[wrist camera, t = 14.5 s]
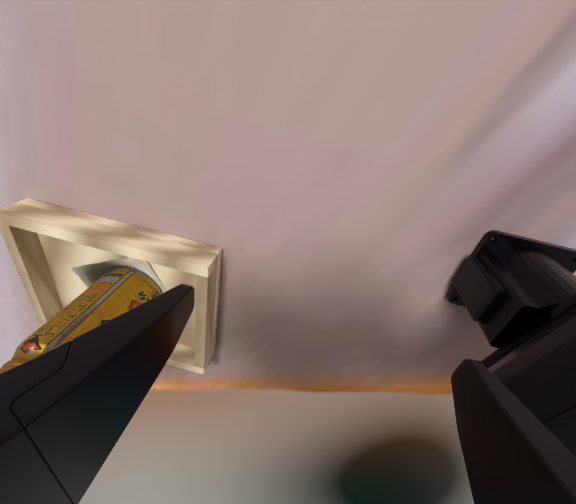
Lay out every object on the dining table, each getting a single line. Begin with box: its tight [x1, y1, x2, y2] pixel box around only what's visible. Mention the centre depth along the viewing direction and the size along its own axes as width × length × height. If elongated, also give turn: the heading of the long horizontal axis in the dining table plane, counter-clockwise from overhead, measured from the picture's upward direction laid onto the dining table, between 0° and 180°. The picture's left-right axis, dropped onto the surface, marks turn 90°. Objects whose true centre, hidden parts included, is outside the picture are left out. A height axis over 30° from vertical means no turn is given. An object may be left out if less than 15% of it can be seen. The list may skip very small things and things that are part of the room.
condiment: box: [0, 257, 166, 373], centre depth 23 cm, size 7×8×12 cm
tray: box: [0, 198, 222, 374], centre depth 27 cm, size 18×14×3 cm
